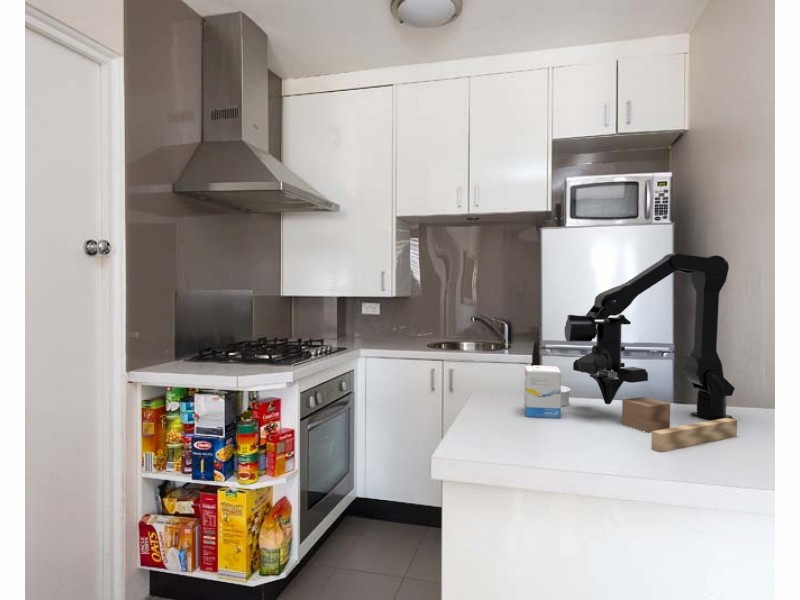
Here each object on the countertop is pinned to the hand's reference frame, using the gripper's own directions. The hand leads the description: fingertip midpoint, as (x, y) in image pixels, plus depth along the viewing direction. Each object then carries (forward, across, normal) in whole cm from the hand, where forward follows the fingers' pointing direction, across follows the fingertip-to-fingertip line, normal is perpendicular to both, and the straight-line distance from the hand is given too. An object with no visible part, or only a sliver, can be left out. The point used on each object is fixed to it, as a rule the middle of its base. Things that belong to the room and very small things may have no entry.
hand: (607, 403), depth 122 cm
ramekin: (+3, -15, -4) cm, 16 cm away
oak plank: (+3, +23, 0) cm, 23 cm away
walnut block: (+3, +11, 0) cm, 11 cm away
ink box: (+3, -8, -14) cm, 17 cm away
